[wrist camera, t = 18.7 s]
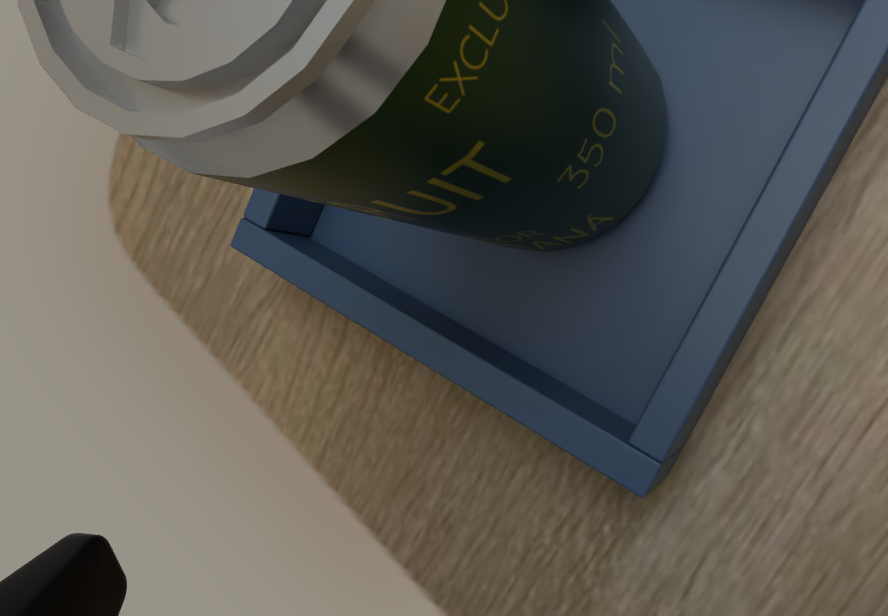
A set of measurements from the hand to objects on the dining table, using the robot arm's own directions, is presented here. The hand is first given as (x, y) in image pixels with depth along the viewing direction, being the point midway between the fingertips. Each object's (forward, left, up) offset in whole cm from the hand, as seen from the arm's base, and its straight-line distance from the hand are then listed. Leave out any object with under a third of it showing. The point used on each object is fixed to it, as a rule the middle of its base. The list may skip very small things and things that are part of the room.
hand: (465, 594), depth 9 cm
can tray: (+6, +5, -10) cm, 13 cm away
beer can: (+6, +5, -10) cm, 12 cm away
